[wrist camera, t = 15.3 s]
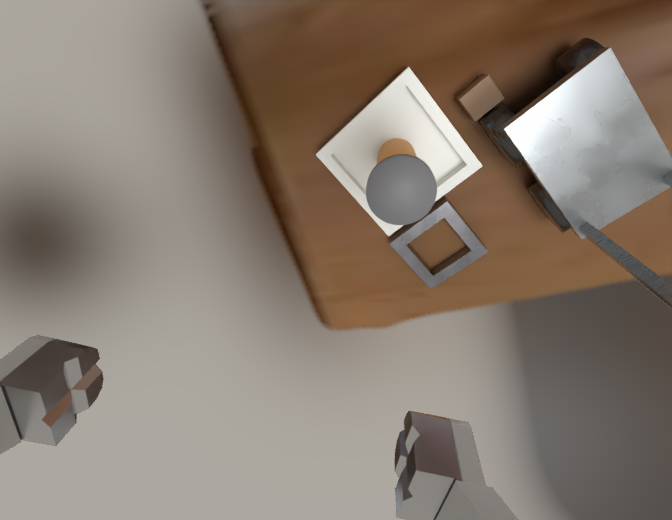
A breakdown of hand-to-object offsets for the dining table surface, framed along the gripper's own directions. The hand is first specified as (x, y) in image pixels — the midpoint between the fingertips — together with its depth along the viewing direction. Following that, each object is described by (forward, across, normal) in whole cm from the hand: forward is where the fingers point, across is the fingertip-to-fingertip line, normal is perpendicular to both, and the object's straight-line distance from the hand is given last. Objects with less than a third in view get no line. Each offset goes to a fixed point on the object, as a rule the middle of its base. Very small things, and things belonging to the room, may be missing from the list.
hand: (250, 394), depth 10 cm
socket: (+31, +11, -8) cm, 34 cm away
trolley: (+31, +19, +5) cm, 37 cm away
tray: (+31, +5, +1) cm, 31 cm away
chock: (+31, +10, +7) cm, 34 cm away
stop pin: (+30, +5, 0) cm, 31 cm away
